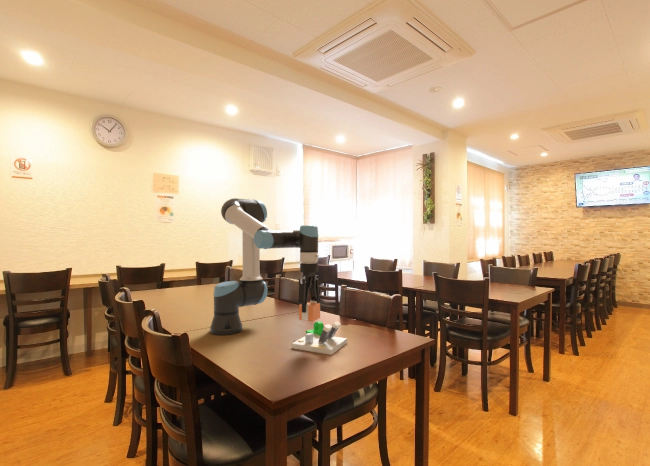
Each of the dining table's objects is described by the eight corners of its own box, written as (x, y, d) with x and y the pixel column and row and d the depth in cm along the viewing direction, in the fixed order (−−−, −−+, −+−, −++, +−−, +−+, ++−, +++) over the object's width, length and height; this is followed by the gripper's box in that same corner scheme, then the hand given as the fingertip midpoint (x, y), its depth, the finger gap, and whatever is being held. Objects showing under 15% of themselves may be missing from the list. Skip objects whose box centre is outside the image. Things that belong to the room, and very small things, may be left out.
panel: (291, 348, 139) (291, 343, 139) (310, 337, 154) (310, 332, 154) (330, 355, 131) (330, 349, 131) (347, 343, 146) (347, 337, 146)
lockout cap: (299, 319, 139) (299, 305, 139) (306, 316, 145) (306, 302, 145) (313, 321, 136) (312, 306, 136) (320, 317, 142) (320, 303, 142)
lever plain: (324, 338, 143) (333, 323, 141) (329, 335, 147) (337, 320, 145) (328, 341, 142) (337, 326, 141) (332, 338, 146) (341, 323, 145)
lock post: (305, 342, 140) (305, 334, 140) (308, 341, 142) (308, 332, 142) (310, 343, 139) (310, 335, 139) (313, 342, 141) (313, 333, 141)
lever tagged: (317, 343, 137) (323, 326, 135) (321, 340, 141) (328, 323, 139) (321, 346, 136) (328, 328, 135) (326, 342, 140) (332, 326, 139)
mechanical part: (331, 338, 153) (331, 321, 153) (320, 341, 150) (320, 323, 150) (316, 332, 163) (316, 316, 163) (305, 334, 160) (305, 317, 160)
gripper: (305, 264, 131) (305, 324, 130) (327, 261, 148) (327, 314, 148) (288, 264, 134) (289, 322, 134) (312, 260, 151) (312, 312, 151)
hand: (309, 318), depth 141 cm, fingers closed on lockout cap, 6 cm apart
